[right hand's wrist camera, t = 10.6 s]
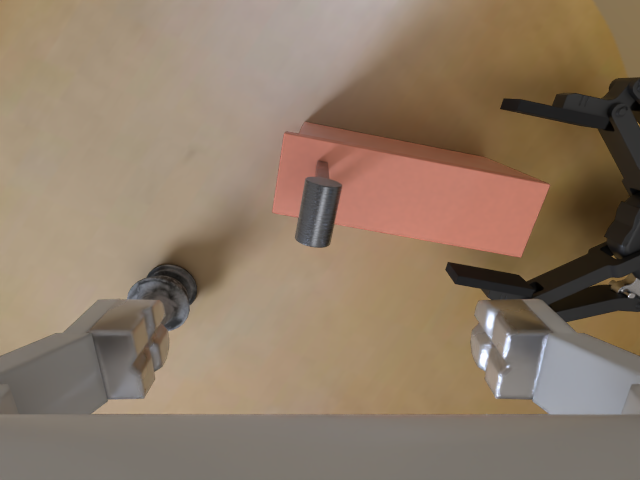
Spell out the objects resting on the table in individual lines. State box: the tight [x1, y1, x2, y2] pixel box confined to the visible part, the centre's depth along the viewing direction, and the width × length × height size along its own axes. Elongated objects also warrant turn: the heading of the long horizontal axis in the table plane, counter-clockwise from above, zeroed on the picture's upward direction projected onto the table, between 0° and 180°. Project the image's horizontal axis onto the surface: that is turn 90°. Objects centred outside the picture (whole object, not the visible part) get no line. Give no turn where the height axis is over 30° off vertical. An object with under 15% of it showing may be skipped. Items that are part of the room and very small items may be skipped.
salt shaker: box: [127, 265, 197, 331], centre depth 35 cm, size 6×6×12 cm
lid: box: [272, 131, 550, 257], centre depth 23 cm, size 18×5×9 cm, turn 79°
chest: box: [299, 122, 541, 181], centre depth 32 cm, size 17×5×10 cm, turn 79°
